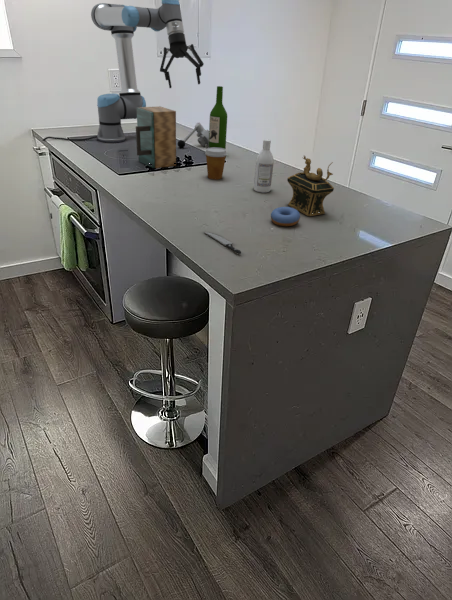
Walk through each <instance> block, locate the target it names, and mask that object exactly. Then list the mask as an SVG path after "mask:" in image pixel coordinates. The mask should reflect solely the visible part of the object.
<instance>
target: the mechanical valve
mask: <svg viewBox="0 0 452 600" xmlns="http://www.w3.org/2000/svg"><path fill="white" fill-rule="evenodd" d="M195 132H197V133H196V137H198V138H197V142H198V144H199V145H200V146H201V147H205V146H208V147H209V129H205V128H204V126H203V125H202V123H200V122H197V123H195V125H194V128H193V129H192V130H191V131H190V132H189V133H188V134H187V135H186V136H185V138H183V139H180V140H178V141H177V147H178V148H179V149H184V148H185V146H186V142H187V141H188V140H189V139H190V137H192V136H193V135H194V133H195Z"/></svg>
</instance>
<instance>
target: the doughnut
mask: <svg viewBox="0 0 452 600" xmlns="http://www.w3.org/2000/svg"><path fill="white" fill-rule="evenodd" d="M300 214H301V213H300V211H298V210H296V209H294V208H292V207H290V206H279V207H276V208H274V209H273V210H272V212H271V213H270V220H271V222H272V223H273V224H275V225H277V226H280V227H292V226H295V225H296V224H298V223H299V221H300V220H301V215H300Z"/></svg>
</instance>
